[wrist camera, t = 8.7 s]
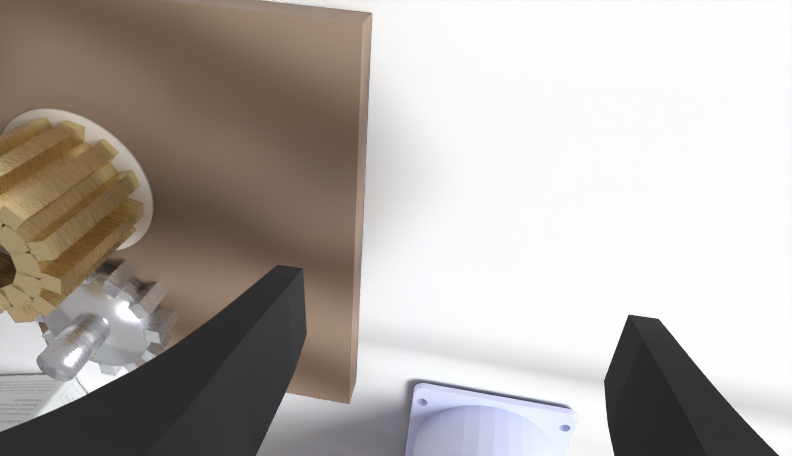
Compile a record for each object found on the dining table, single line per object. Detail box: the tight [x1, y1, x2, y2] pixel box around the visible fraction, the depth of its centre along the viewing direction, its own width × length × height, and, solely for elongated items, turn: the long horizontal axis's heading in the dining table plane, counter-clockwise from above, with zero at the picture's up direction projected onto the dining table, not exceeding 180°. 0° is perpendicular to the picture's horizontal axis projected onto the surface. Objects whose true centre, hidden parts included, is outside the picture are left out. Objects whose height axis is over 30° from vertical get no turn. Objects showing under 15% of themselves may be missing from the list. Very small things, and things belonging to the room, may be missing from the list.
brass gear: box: [0, 117, 144, 323], centre depth 20 cm, size 6×6×5 cm
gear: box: [33, 259, 177, 381], centre depth 24 cm, size 6×6×4 cm
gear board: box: [0, 0, 372, 404], centre depth 22 cm, size 18×16×6 cm
